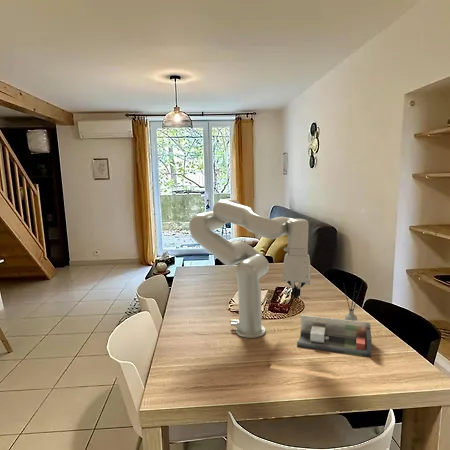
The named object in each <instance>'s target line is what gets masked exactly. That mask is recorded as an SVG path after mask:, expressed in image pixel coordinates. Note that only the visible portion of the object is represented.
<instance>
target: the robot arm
mask: <svg viewBox="0 0 450 450" xmlns="http://www.w3.org/2000/svg"><path fill="white" fill-rule="evenodd" d="M228 223H230V224H233V225H237V226H240V227H243V228H244V229H245V230H247V231H248V232H250V233H252V234H254V235H256V236H259V237H262V238H266V239H270V240H276V239H279V238H281V237H284V236H285V237H286V236H287V246H286V247H283V251H284V252H286V253H285V254H284V259H283V265H282V282H284V283H286V284H288V285H289V286H290V287H291V296H293V297H292V298H293V299H299V297H301V288H303V287H304V286H305V285H306V286H307V285H311V283H312V281H311V272H312V271H311V258H310V255H309V253H308V251H309V247H308V246H309V245H308V244H309V226H310V225H309V221H308V219H305V218H292V217H286V216H277V217H273V218H269V217H265V216H262V215H258V214H256V213H254V210H253V208H252V207H250V206H247V205H243V204H241V203H240V201H238V200H237V199H234V198H228V199H227V198H225V199H220V200H218V201H216V203H215V204H214V205H213V207H212V211H205V212H201V213H197V214H195V215H193V216H192V218H191V219H190V221H189V228H188V229H189V232H190V234H191V237H192V238H193V240H194V241H195V242H196V244H197V243H198V244H199V245H200V246H201V247H203V248H204V249H205V250H207V251H208V252H209V253H210V254H211V255H213V256H214V257H215V258H216V259H218V260H219V261H220V262H221V263H222V264H223V265H225V266H228V267H234V266H235V265H237V266H236V267H235V278H236V282H237V294H238V295H237V296H238V297H237V298H238V319H233V318H231V319H230V321H229V324H230V326H231V327H235V333H236V335H237V336H239V337H242V338H246V339H255V338H260V337H262V336H264V335H265V334H266V328H265V326H263V325H262V319H263V318H262V290H261V289H262V288H261V285H260V281H259V279H260V278H261V277H263V276H264V275H266V274H267V273H268V272H269V269H270V263H269V261H268V259H267V258H266V257H265V255H263V254H262V253H261V252H260V251H258V250H257V249H255V248H253V246H251V245H250V244H248V243H247V242H245V241H242V240H235V241H232V242H230V241H228V240H227V239H225V238H224V237H223V236H221V235H220V234H219V233H216V232H213V231H214V230H217V229H220V228H222V227H223V226H224V225H226V224H228ZM296 283H297V286H296Z"/></svg>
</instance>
